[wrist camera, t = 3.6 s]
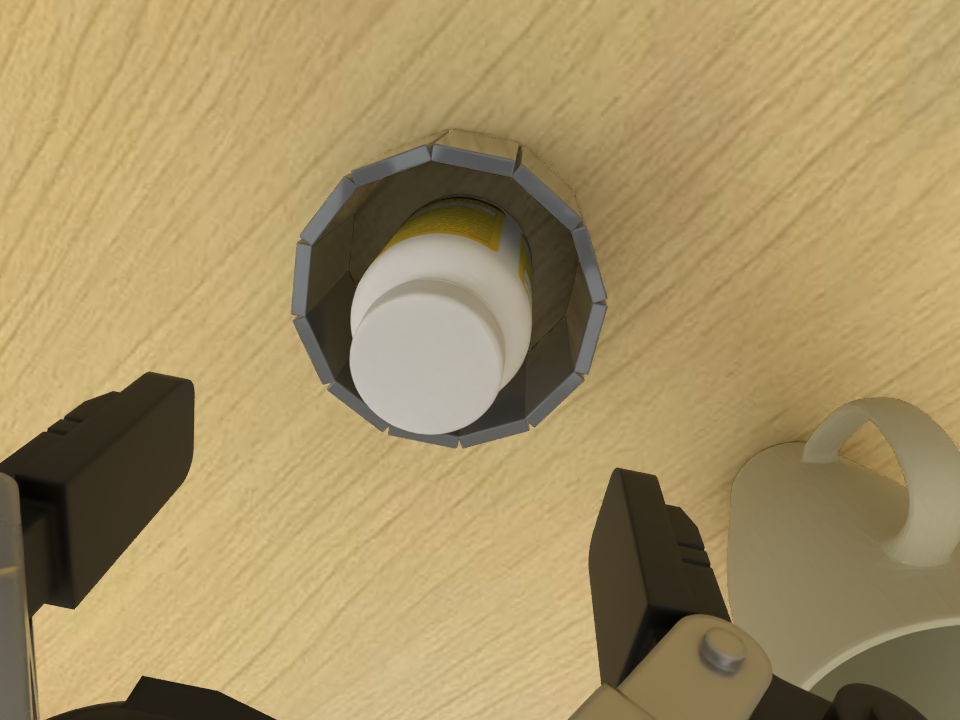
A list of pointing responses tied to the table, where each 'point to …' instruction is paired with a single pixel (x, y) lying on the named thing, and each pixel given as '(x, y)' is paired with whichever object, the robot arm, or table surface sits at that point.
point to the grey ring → (331, 290)
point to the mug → (853, 560)
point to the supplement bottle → (443, 316)
